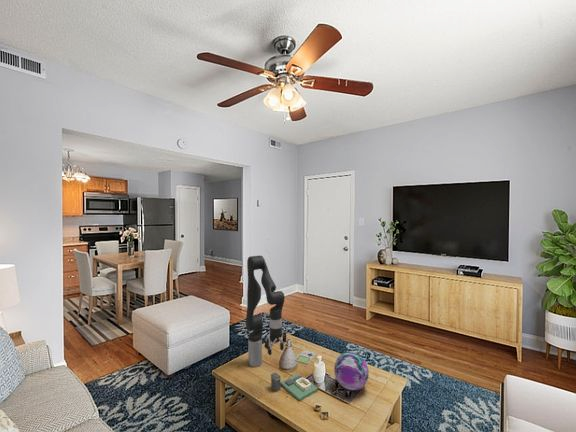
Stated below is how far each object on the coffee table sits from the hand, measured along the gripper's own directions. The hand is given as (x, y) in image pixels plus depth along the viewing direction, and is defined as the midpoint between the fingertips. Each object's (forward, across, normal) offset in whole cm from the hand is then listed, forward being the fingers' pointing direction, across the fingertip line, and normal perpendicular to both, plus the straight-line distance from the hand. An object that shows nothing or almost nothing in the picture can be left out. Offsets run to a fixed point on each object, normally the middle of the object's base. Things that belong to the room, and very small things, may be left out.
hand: (275, 352), depth 161 cm
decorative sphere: (+22, -36, +28) cm, 50 cm away
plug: (+22, 0, 0) cm, 22 cm away
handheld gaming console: (+23, -36, -14) cm, 45 cm away
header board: (+22, -11, +8) cm, 26 cm away
